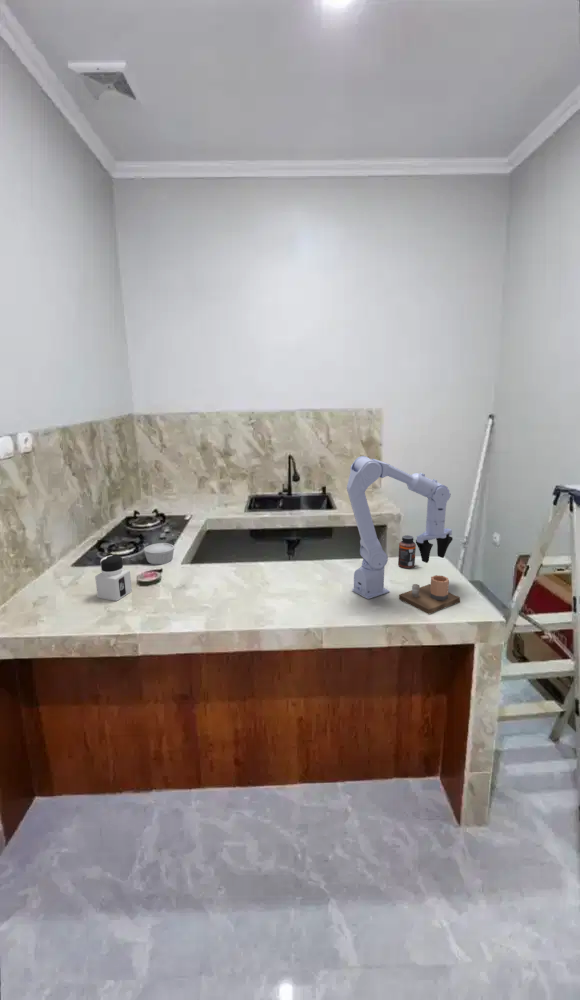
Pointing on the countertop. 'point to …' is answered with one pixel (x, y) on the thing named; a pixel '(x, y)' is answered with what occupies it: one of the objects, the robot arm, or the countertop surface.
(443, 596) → the sleeve
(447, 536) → the robot arm
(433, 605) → the pin board
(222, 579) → the countertop surface
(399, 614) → the countertop surface
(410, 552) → the supplement bottle
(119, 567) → the container
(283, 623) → the countertop surface
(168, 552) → the ramekin
